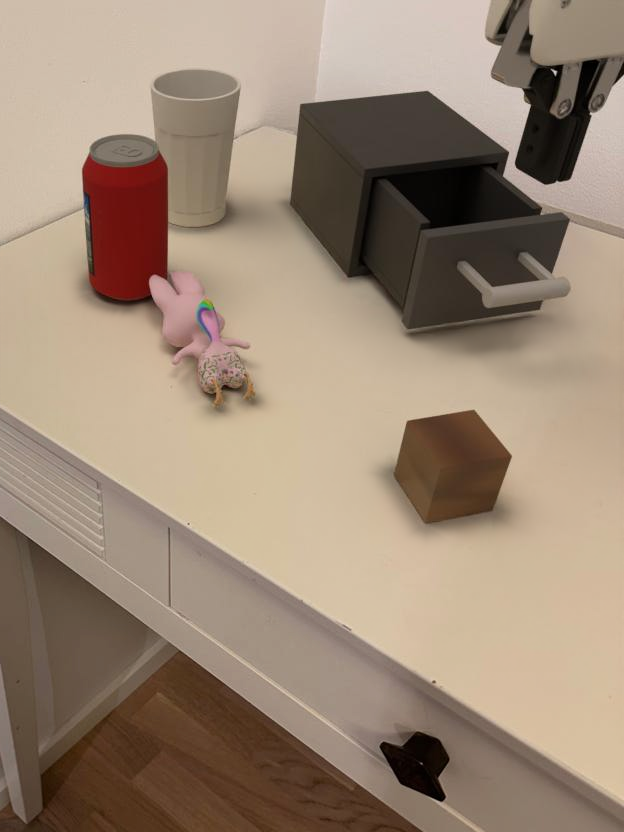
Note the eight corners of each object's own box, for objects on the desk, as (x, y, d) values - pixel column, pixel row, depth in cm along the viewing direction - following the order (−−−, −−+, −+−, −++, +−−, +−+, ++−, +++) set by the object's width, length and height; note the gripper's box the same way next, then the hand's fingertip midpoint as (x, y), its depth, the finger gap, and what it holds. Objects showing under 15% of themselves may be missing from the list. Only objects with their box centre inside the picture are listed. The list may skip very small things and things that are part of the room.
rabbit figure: (271, 409, 65) (196, 283, 74) (284, 349, 61) (203, 222, 69) (192, 428, 64) (125, 297, 72) (200, 368, 59) (127, 236, 68)
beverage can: (120, 258, 79) (115, 124, 71) (183, 280, 77) (185, 142, 68) (73, 291, 75) (62, 152, 67) (137, 315, 73) (134, 173, 64)
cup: (147, 196, 89) (145, 70, 80) (225, 191, 89) (232, 66, 81) (156, 233, 83) (155, 102, 75) (240, 228, 83) (249, 97, 75)
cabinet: (481, 258, 78) (509, 152, 72) (347, 276, 77) (365, 168, 70) (408, 188, 89) (427, 90, 82) (289, 203, 87) (299, 103, 80)
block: (457, 463, 59) (474, 408, 56) (493, 511, 55) (512, 455, 52) (393, 474, 58) (406, 420, 55) (425, 523, 55) (441, 468, 52)
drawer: (580, 348, 67) (616, 254, 61) (440, 370, 65) (465, 275, 60) (458, 232, 80) (479, 147, 75) (340, 248, 78) (353, 162, 73)
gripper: (711, -216, 46) (592, 134, 59) (476, -203, 42) (402, 170, 55) (841, -202, 41) (682, 178, 54) (589, -186, 37) (479, 222, 50)
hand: (541, 173), depth 54 cm, fingers closed
